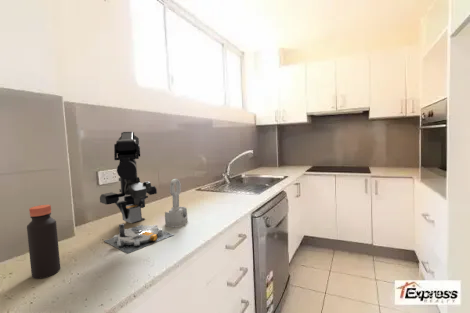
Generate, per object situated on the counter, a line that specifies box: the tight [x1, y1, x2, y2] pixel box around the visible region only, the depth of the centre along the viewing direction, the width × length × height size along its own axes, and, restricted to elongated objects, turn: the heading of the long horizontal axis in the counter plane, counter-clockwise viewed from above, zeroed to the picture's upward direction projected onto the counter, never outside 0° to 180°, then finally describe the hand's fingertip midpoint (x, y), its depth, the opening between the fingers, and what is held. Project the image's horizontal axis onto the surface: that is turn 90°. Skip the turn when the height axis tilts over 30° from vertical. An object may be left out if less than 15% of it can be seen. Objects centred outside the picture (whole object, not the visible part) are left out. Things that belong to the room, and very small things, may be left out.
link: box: [121, 204, 142, 224], centre depth 88 cm, size 6×4×5 cm, turn 50°
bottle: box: [26, 204, 61, 280], centre depth 71 cm, size 7×7×20 cm
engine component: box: [164, 178, 189, 228], centre depth 112 cm, size 11×20×10 cm
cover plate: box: [103, 230, 174, 254], centre depth 96 cm, size 19×19×1 cm
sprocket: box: [113, 223, 163, 246], centre depth 96 cm, size 18×18×6 cm
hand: (131, 217), depth 89 cm, fingers closed on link, 4 cm apart
